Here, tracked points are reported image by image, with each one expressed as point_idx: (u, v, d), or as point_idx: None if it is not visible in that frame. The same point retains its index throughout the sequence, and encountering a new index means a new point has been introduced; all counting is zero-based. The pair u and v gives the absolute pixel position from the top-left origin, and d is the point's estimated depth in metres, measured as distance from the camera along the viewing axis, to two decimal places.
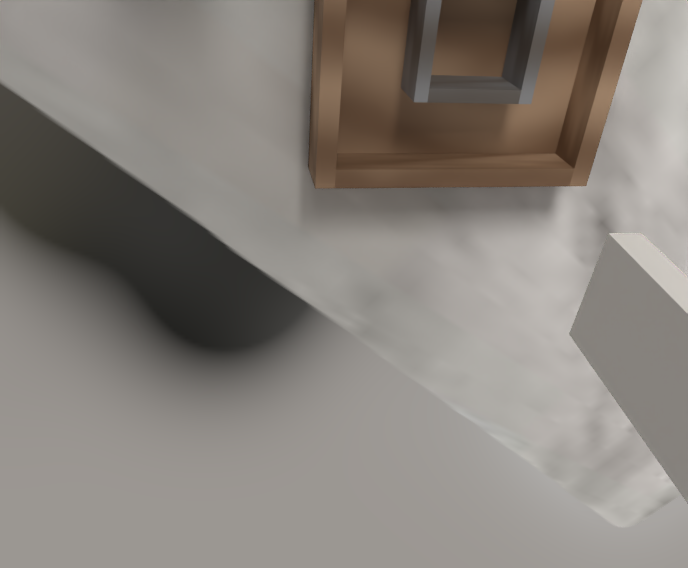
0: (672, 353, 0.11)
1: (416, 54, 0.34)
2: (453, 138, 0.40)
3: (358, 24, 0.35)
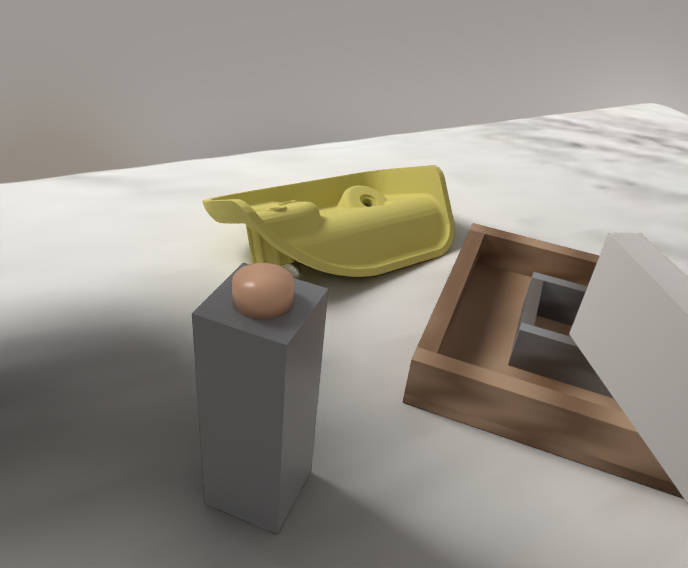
0: (672, 353, 0.11)
1: None
2: None
3: None
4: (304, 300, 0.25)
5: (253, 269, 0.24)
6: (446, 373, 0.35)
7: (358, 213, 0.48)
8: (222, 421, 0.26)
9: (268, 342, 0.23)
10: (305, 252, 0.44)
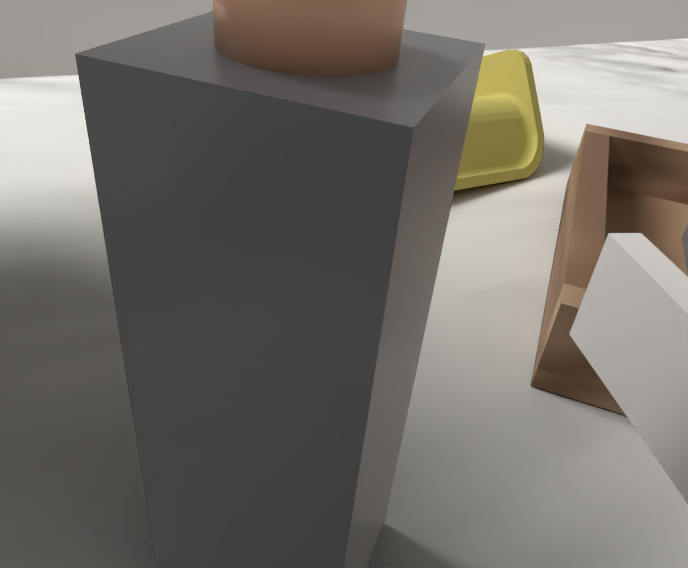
0: (671, 353, 0.11)
1: None
2: None
3: None
4: (429, 55, 0.08)
5: None
6: None
7: None
8: (194, 420, 0.10)
9: (340, 128, 0.06)
10: None
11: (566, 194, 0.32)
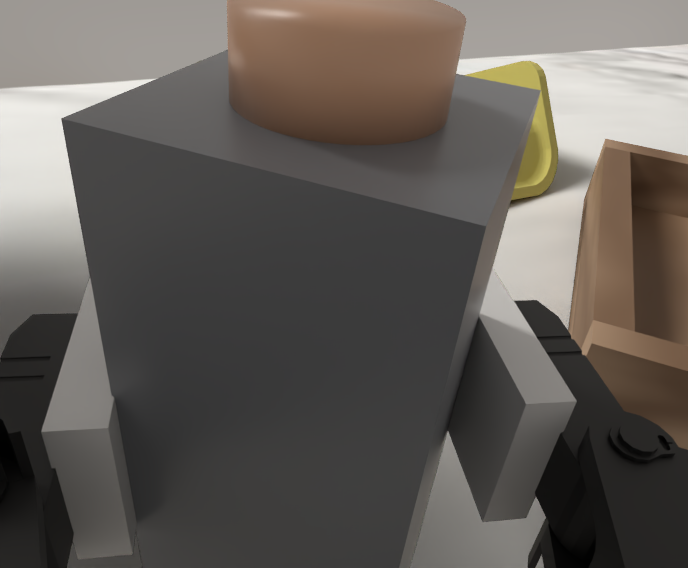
0: None
1: None
2: None
3: None
4: (482, 108, 0.07)
5: None
6: (666, 371, 0.17)
7: None
8: (201, 517, 0.08)
9: (390, 221, 0.05)
10: None
11: (584, 212, 0.31)
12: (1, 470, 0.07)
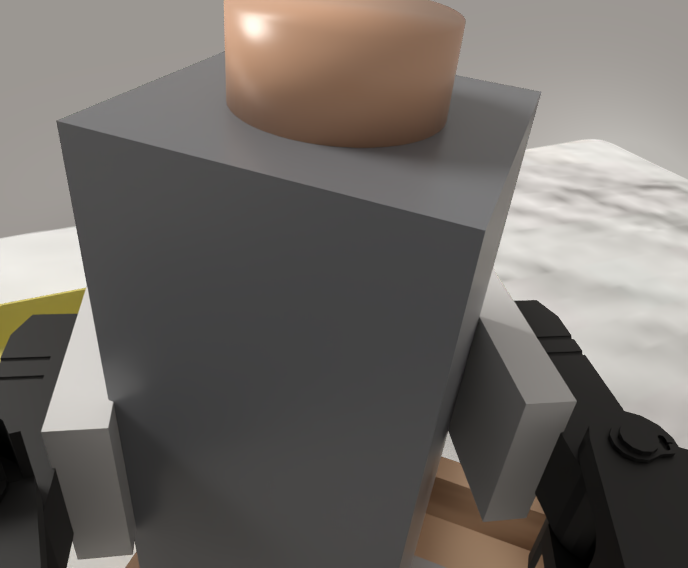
0: None
1: None
2: None
3: None
4: (481, 110, 0.07)
5: None
6: None
7: None
8: (199, 521, 0.08)
9: (388, 225, 0.05)
10: None
11: None
12: (1, 470, 0.07)
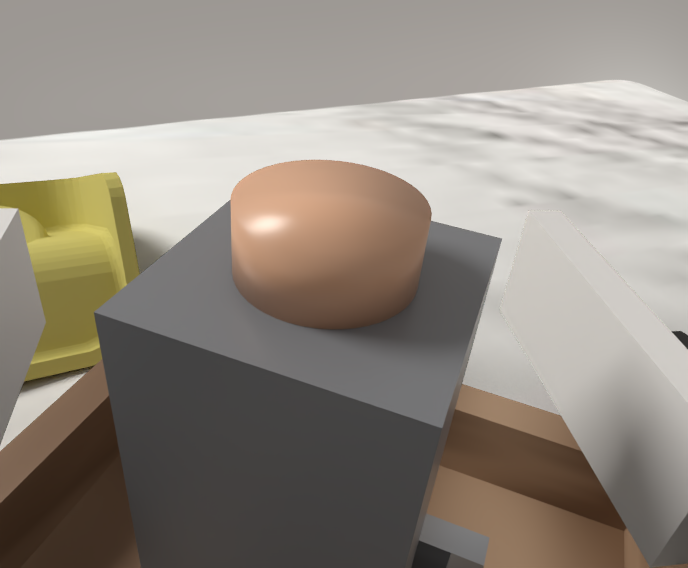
0: (576, 321, 0.11)
1: None
2: None
3: None
4: (448, 269, 0.08)
5: (295, 174, 0.08)
6: None
7: None
8: None
9: (365, 415, 0.06)
10: None
11: None
12: None
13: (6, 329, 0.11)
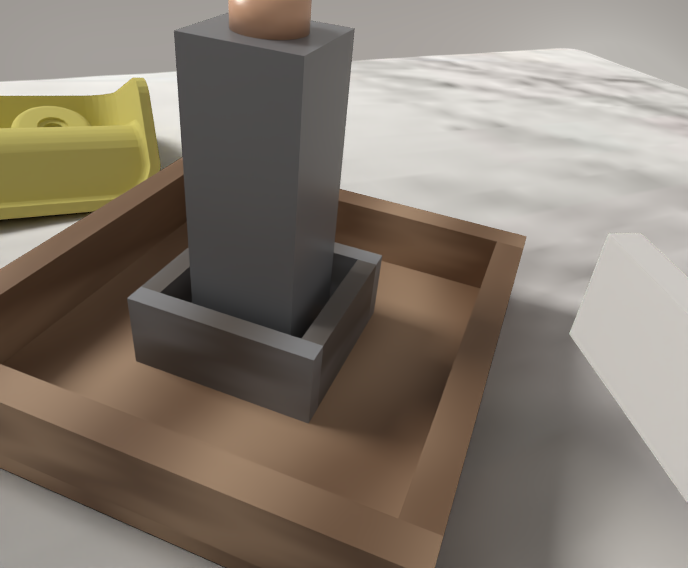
0: (672, 353, 0.11)
1: (246, 351, 0.21)
2: (424, 381, 0.24)
3: None
4: (324, 32, 0.19)
5: None
6: None
7: None
8: (217, 211, 0.20)
9: (278, 57, 0.17)
10: None
11: None
12: None
13: None
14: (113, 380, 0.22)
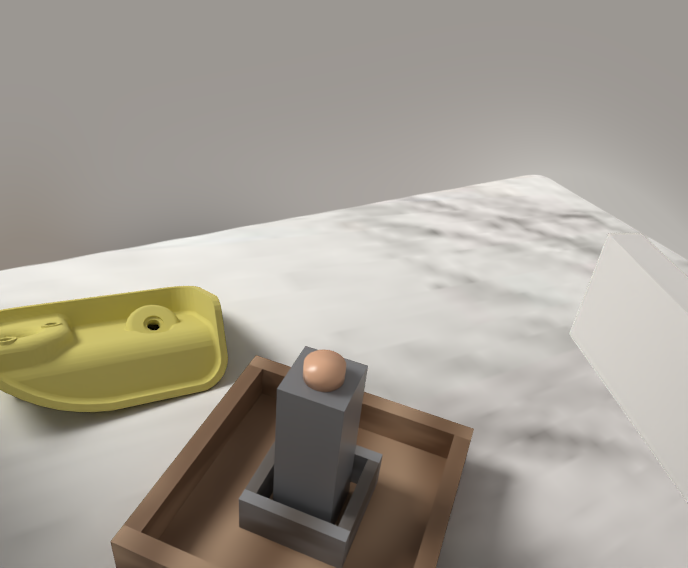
0: (672, 353, 0.11)
1: (307, 532, 0.37)
2: (407, 536, 0.40)
3: None
4: (352, 375, 0.35)
5: (316, 355, 0.35)
6: (141, 557, 0.35)
7: (111, 344, 0.49)
8: (293, 459, 0.37)
9: (331, 409, 0.33)
10: (26, 386, 0.45)
11: None
12: None
13: None
14: (228, 542, 0.39)
